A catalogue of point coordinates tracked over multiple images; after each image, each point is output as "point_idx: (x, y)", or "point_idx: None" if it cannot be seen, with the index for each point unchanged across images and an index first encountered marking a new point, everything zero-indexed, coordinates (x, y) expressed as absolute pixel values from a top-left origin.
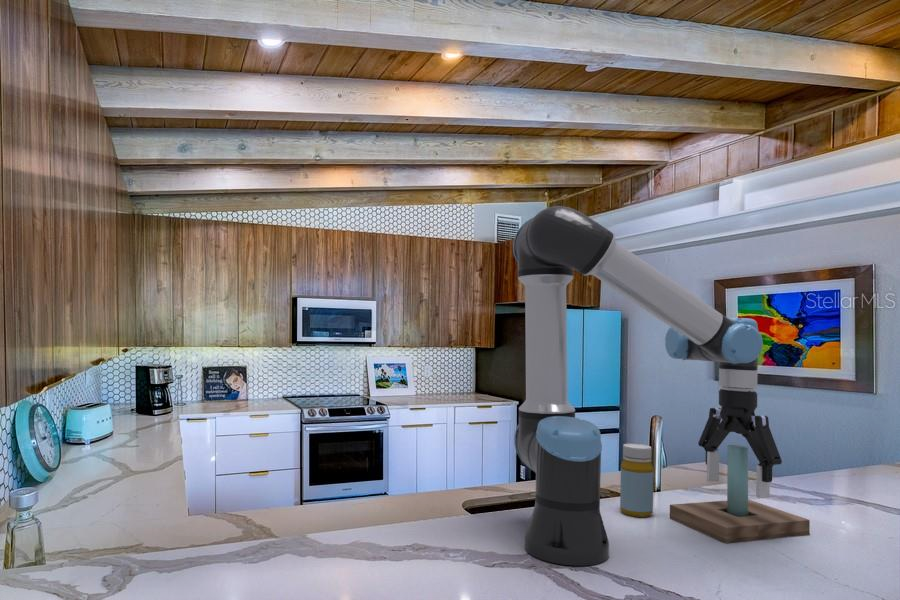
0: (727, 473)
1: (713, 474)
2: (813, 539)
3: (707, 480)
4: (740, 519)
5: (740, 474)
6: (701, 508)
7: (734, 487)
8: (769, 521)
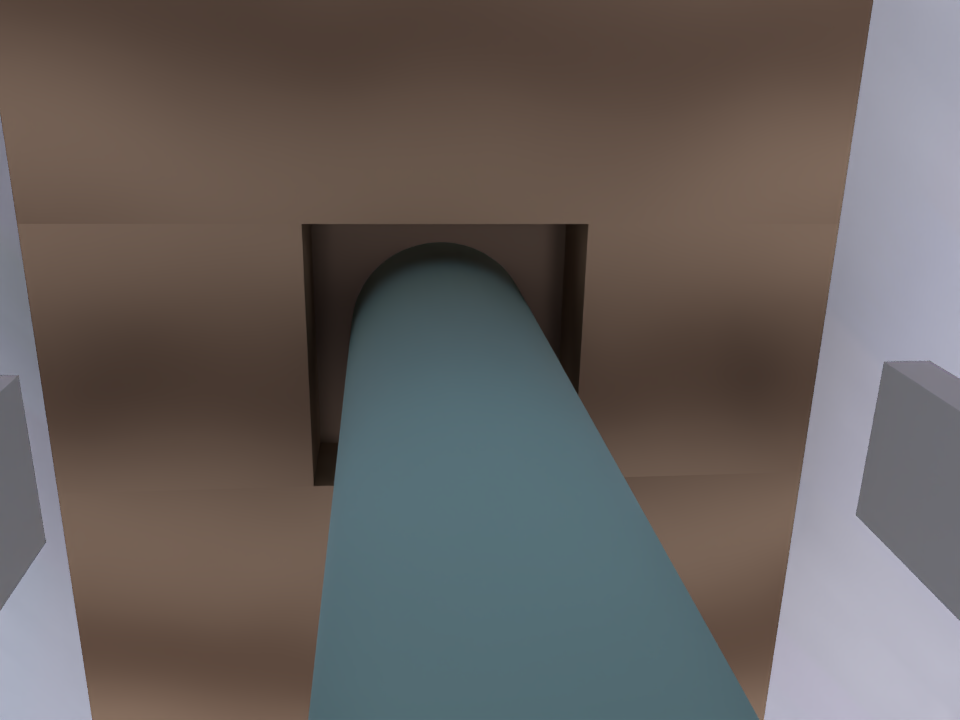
0: (591, 450)
1: (926, 474)
2: (38, 663)
3: (920, 362)
4: (212, 178)
5: (341, 524)
6: (658, 54)
7: (411, 373)
8: (106, 429)
